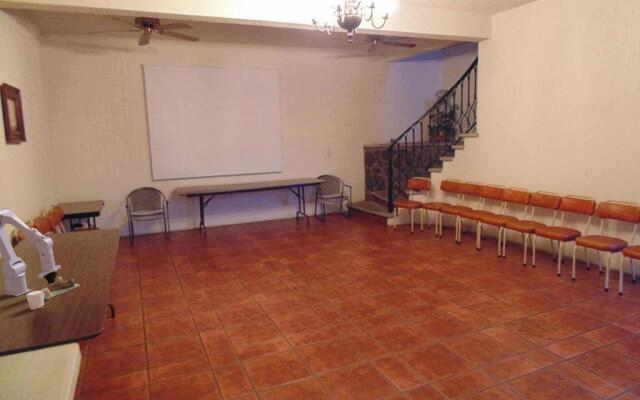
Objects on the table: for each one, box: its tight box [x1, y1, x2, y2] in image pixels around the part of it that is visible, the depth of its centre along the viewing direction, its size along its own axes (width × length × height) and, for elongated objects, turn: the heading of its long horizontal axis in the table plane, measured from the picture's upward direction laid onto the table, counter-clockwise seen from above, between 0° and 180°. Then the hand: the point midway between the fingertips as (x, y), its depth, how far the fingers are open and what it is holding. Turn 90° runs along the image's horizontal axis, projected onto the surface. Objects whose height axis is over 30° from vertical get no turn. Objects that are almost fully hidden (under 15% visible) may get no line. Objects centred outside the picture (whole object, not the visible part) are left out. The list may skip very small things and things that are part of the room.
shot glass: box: [25, 289, 45, 310], centre depth 207 cm, size 7×7×7 cm
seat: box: [30, 276, 81, 300], centre depth 226 cm, size 14×18×4 cm
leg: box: [46, 278, 76, 291], centre depth 227 cm, size 12×3×3 cm, turn 120°
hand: (52, 286), depth 227 cm, fingers closed, pressing on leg
